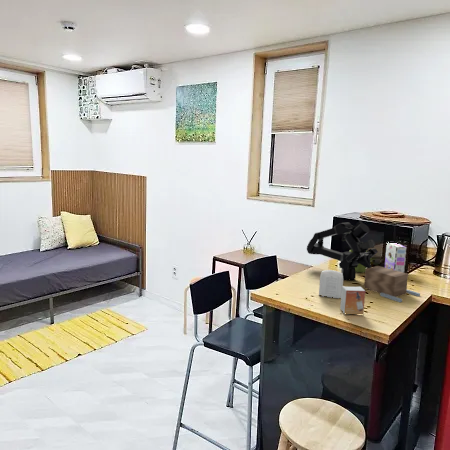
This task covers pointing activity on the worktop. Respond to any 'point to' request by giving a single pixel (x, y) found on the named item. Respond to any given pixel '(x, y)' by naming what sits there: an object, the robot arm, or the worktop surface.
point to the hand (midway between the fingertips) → (371, 269)
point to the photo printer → (331, 283)
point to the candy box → (395, 257)
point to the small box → (352, 300)
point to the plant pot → (359, 266)
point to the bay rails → (399, 298)
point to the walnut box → (386, 281)
